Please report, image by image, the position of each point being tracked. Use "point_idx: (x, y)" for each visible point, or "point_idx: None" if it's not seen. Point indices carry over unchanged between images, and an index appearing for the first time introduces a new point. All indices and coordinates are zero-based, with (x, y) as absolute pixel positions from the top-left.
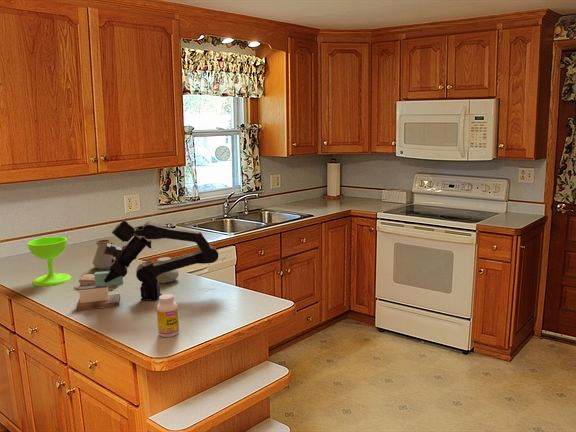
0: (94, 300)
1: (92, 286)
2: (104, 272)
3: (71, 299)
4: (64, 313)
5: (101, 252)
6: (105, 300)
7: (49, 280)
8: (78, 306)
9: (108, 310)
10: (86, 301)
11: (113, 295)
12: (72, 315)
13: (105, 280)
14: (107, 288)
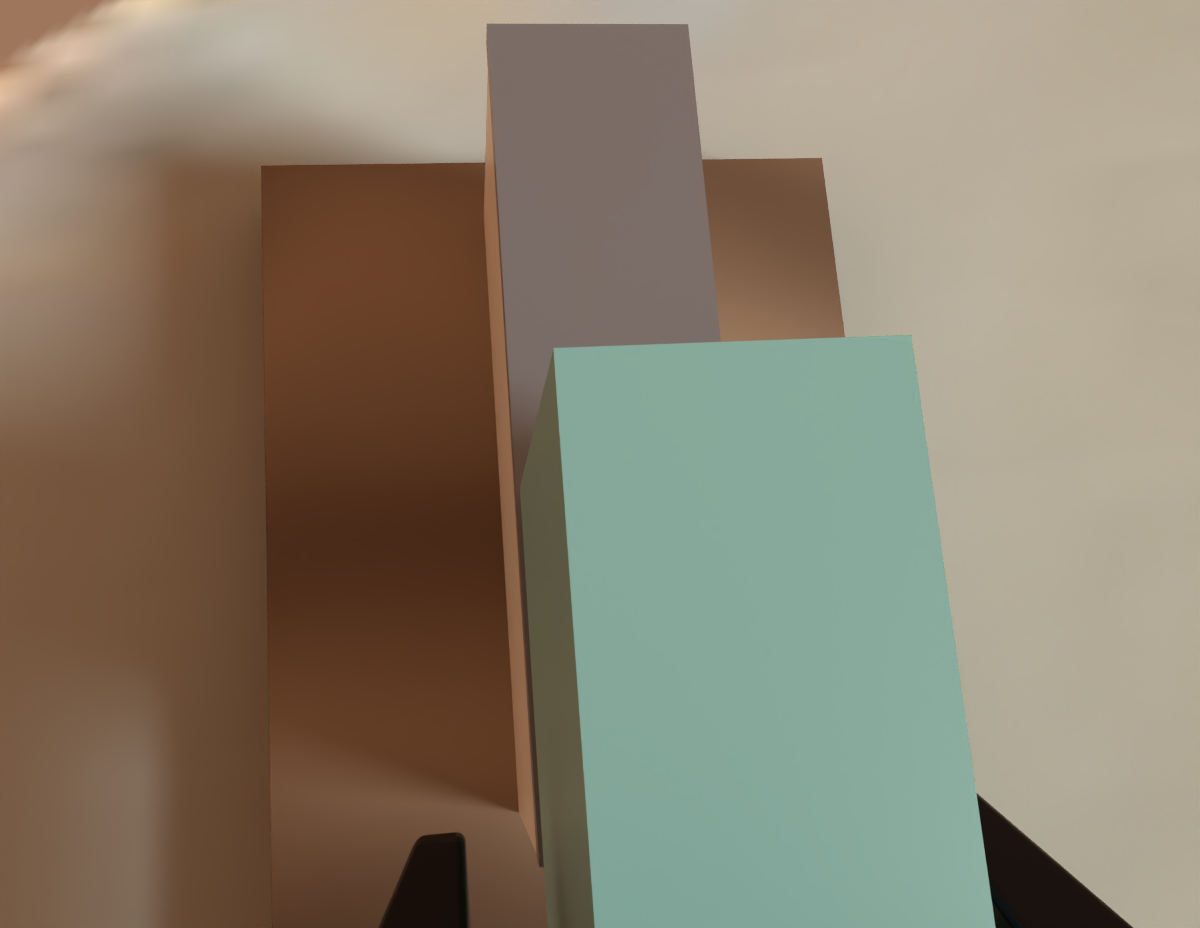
0: (502, 495)
1: None
2: (771, 903)
3: (965, 31)
4: (190, 6)
5: None
6: (501, 748)
7: None
8: (266, 202)
9: (48, 874)
10: (490, 326)
11: None
12: (10, 160)
13: (392, 918)
14: None
